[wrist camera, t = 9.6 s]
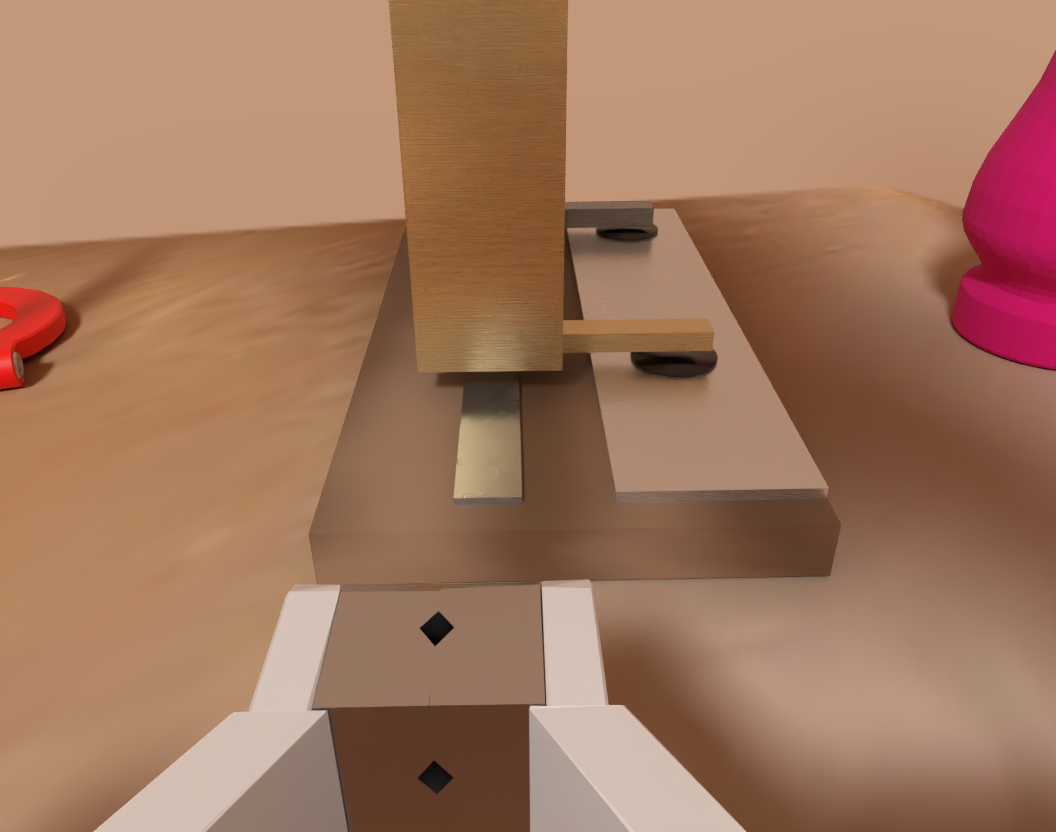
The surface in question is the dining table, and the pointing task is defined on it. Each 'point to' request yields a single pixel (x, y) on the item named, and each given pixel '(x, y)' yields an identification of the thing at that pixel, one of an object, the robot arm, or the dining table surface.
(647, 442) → the bolt strip
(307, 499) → the dining table surface
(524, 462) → the walnut board
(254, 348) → the dining table surface
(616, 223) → the fixed leg
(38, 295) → the tow hook
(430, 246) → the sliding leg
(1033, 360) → the pepper mill
